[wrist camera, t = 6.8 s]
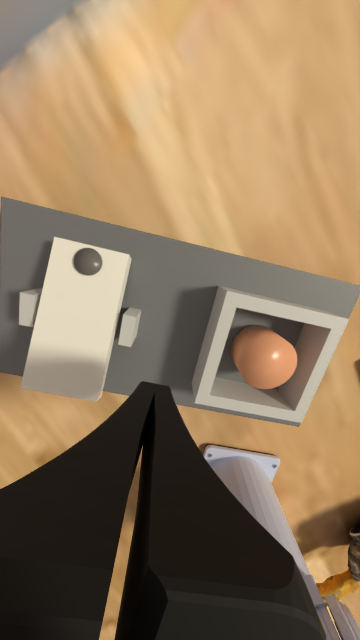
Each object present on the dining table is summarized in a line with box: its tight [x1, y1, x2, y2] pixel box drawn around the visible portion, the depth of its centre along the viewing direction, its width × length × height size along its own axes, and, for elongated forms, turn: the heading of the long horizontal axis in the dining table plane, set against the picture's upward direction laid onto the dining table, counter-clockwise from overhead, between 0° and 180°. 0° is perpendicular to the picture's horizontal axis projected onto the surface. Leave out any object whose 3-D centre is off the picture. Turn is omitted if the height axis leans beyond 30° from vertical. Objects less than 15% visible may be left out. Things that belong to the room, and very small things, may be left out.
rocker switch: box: [20, 237, 132, 402], centre depth 13 cm, size 9×4×1 cm, turn 167°
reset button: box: [230, 325, 297, 389], centre depth 14 cm, size 4×4×2 cm
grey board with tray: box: [0, 197, 360, 427], centre depth 15 cm, size 12×24×6 cm, turn 77°
